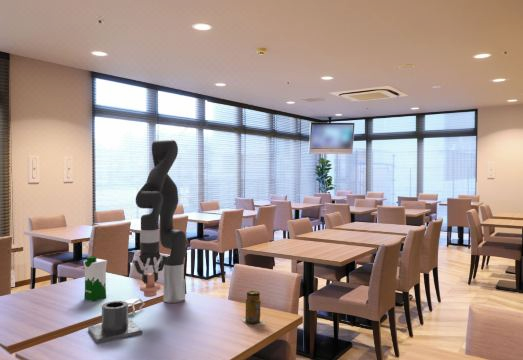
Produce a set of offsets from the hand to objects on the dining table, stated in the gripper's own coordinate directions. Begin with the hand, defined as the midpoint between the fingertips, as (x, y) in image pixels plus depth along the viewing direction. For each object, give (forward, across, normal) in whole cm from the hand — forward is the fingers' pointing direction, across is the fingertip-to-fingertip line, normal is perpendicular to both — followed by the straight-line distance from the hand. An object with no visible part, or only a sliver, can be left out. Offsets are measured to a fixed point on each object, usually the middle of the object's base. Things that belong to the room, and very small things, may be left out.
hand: (150, 282), depth 171 cm
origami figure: (+16, +3, -14) cm, 22 cm away
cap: (+5, 0, 0) cm, 5 cm away
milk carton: (+16, +11, -42) cm, 46 cm away
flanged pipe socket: (+15, +16, +5) cm, 22 cm away
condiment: (+16, -34, +24) cm, 45 cm away
